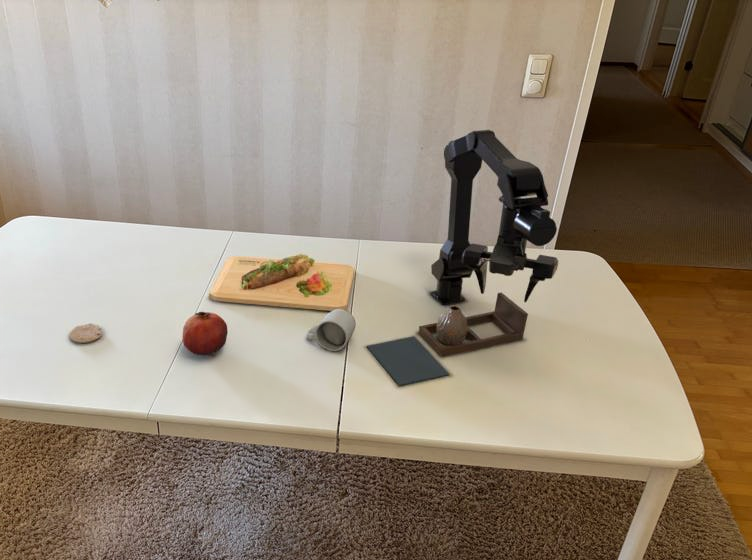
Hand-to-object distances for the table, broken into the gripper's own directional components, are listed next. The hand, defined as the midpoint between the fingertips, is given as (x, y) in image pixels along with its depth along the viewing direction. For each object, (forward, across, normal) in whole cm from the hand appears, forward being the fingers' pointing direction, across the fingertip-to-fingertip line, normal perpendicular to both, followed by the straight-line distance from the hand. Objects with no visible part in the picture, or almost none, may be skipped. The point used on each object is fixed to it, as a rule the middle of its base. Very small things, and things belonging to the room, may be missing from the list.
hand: (503, 297), depth 157 cm
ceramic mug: (+13, -34, -14) cm, 39 cm away
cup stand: (+13, -7, +3) cm, 15 cm away
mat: (+14, -16, -13) cm, 25 cm away
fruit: (+13, -58, -31) cm, 67 cm away
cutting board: (+11, -57, +4) cm, 58 cm away
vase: (+13, -10, 0) cm, 17 cm away
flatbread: (+12, -86, -40) cm, 95 cm away
